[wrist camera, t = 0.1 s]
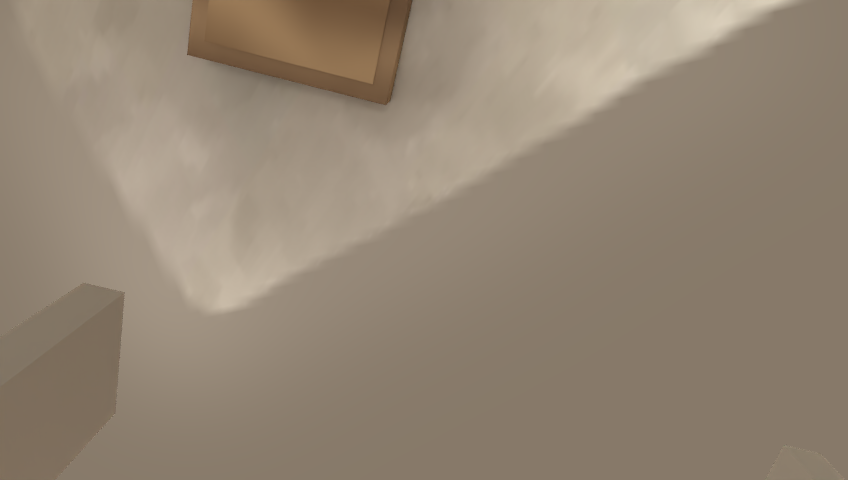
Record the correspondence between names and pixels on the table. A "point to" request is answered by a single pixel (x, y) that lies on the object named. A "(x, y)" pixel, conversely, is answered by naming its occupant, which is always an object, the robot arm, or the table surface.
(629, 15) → the table surface
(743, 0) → the table surface
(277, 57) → the walnut base
